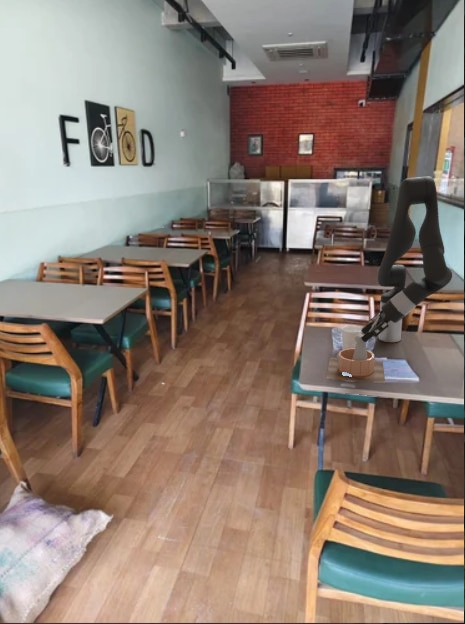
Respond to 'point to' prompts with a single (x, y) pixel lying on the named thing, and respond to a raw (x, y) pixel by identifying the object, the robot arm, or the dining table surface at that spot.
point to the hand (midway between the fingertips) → (362, 336)
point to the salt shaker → (360, 349)
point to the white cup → (350, 336)
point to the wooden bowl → (355, 363)
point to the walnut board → (374, 377)
